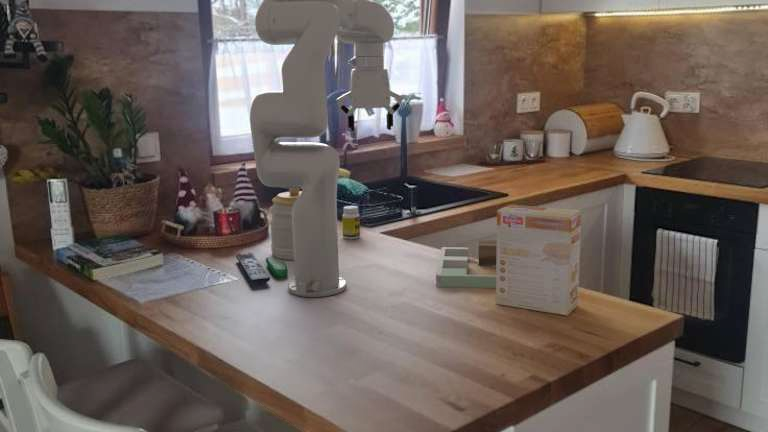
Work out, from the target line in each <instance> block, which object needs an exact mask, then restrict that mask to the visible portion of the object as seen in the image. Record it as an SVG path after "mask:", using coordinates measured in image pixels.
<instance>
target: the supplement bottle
mask: <svg viewBox="0 0 768 432" xmlns="http://www.w3.org/2000/svg"><path fill="white" fill-rule="evenodd" d="M341 216H342V217H341V218H342V220H341V221H342V237H343V238H344V239H345V240H346V239H347V240H355V239H359V238H361V222H360V221H361V220H360V219H361V218H360V216H361V215H360V213H359V206H357V205H346V206H344V207H343V214H342V215H341Z"/></svg>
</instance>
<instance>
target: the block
mask: <svg viewBox="0 0 768 432" xmlns="http://www.w3.org/2000/svg"><path fill="white" fill-rule="evenodd" d="M496 253H497V239H478V266H485V267H487V266H488V267H496ZM493 265H494V266H493Z"/></svg>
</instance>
